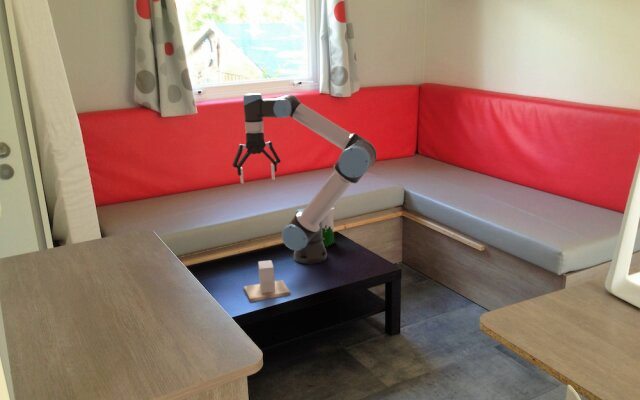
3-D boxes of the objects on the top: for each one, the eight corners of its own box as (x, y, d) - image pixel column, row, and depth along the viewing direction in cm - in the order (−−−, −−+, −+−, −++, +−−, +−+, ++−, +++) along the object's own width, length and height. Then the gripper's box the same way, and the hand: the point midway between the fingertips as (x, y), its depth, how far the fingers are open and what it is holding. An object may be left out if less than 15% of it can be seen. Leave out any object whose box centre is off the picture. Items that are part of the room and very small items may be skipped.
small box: (275, 292, 215) (273, 267, 212) (261, 293, 215) (259, 268, 212) (273, 283, 223) (271, 259, 220) (259, 285, 222) (257, 261, 219)
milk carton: (312, 245, 267) (310, 205, 261) (322, 239, 274) (321, 201, 268) (327, 248, 262) (326, 208, 256) (337, 242, 269) (336, 203, 264)
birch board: (282, 282, 227) (282, 279, 226) (290, 294, 216) (290, 291, 215) (244, 289, 222) (243, 286, 222) (250, 301, 211) (250, 298, 211)
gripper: (281, 127, 235) (283, 175, 241) (223, 132, 228) (227, 182, 234) (286, 130, 228) (288, 179, 234) (226, 135, 221) (230, 186, 227)
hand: (257, 181), depth 234 cm, fingers open, 13 cm apart
